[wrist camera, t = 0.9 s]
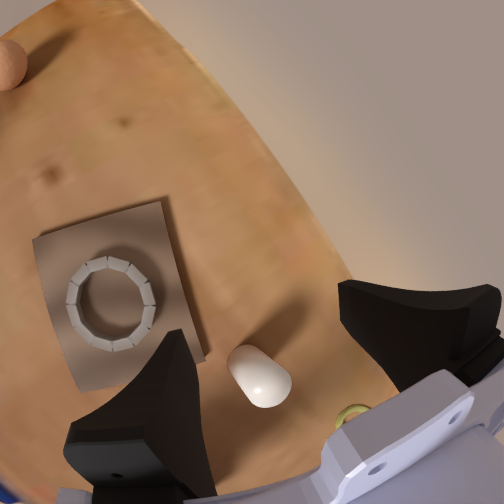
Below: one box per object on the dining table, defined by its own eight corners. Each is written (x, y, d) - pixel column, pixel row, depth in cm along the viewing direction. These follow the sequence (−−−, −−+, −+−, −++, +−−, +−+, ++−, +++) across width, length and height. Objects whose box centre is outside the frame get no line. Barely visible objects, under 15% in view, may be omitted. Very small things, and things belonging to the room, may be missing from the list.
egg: (-6, 105, 19) (-32, 73, 11) (6, 72, 19) (-15, 38, 11) (28, 94, 21) (5, 56, 13) (38, 61, 21) (22, 22, 13)
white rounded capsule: (267, 371, 29) (295, 396, 22) (233, 383, 28) (254, 414, 21) (258, 339, 29) (286, 359, 22) (222, 351, 28) (241, 376, 21)
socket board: (204, 357, 27) (208, 366, 25) (82, 389, 23) (76, 399, 20) (160, 203, 26) (160, 197, 24) (35, 240, 22) (25, 238, 20)
